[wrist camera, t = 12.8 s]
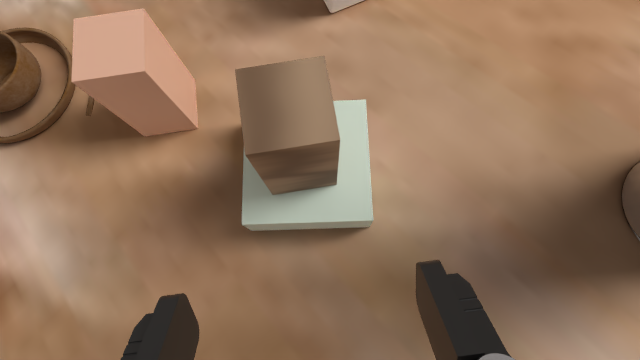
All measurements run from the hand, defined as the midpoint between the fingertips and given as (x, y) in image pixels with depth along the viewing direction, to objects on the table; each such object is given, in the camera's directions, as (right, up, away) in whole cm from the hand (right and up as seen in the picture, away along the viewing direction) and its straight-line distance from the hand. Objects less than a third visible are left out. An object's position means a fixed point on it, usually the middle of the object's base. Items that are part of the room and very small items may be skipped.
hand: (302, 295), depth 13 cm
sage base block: (0, +5, +21) cm, 21 cm away
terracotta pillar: (-13, +11, +23) cm, 28 cm away
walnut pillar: (-1, +6, +17) cm, 18 cm away
